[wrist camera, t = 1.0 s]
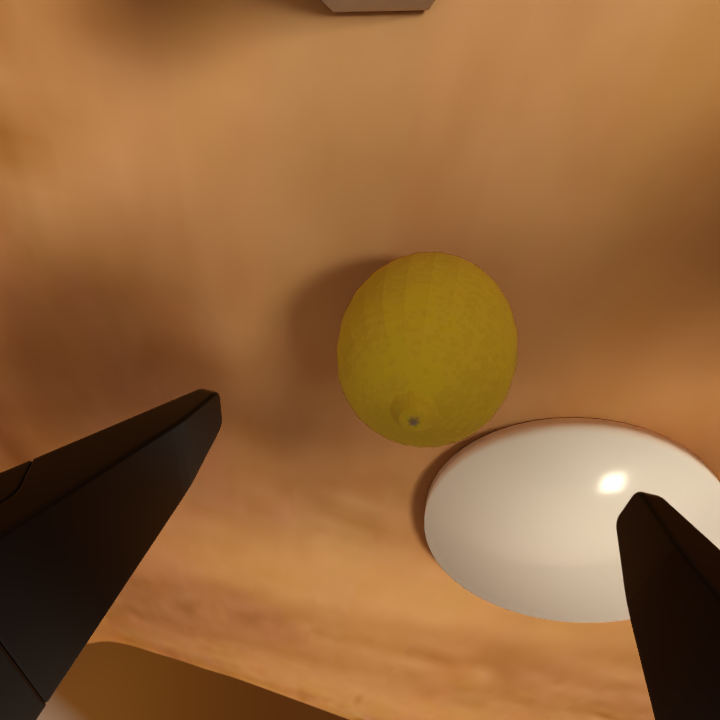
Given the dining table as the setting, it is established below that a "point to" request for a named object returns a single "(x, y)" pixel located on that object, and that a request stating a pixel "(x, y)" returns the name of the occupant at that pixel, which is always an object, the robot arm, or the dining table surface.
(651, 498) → the robot arm
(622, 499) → the plate
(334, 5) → the flask
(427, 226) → the dining table surface
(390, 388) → the lemon
